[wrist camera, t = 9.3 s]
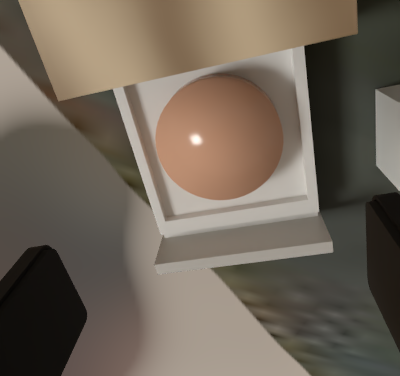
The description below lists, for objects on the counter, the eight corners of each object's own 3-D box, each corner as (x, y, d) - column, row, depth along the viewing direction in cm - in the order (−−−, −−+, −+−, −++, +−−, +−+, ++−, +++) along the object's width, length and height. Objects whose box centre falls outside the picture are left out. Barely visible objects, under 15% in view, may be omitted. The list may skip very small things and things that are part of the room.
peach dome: (274, 62, 19) (277, 66, 18) (285, 181, 22) (288, 192, 21) (148, 85, 21) (141, 90, 19) (175, 194, 24) (170, 206, 22)
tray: (298, -18, 18) (311, -23, 15) (320, 220, 24) (333, 252, 21) (99, 33, 20) (74, 38, 17) (166, 242, 26) (157, 274, 23)
